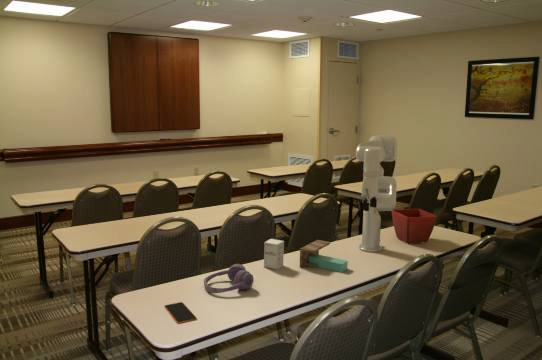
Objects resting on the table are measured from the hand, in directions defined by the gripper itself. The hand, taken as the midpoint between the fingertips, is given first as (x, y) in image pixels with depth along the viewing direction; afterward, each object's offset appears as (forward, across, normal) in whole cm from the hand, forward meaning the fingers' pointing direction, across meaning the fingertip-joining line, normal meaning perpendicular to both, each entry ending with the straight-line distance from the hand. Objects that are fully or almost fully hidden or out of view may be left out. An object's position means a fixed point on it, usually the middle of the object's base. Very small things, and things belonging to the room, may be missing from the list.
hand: (369, 208), depth 225 cm
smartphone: (+29, +92, -37) cm, 103 cm away
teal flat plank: (+28, +14, -14) cm, 35 cm away
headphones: (+29, +62, -38) cm, 79 cm away
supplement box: (+28, +29, -36) cm, 54 cm away
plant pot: (+29, -56, +6) cm, 63 cm away
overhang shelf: (+28, +14, -22) cm, 38 cm away
